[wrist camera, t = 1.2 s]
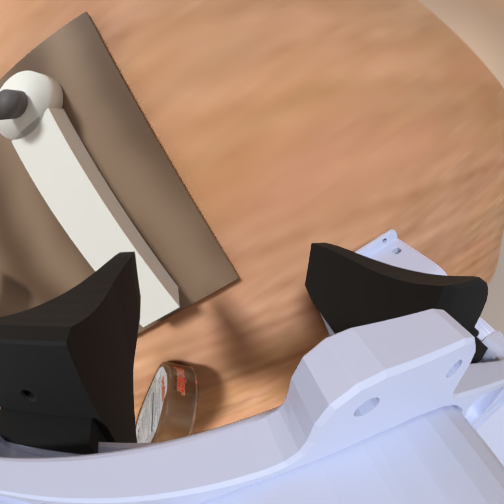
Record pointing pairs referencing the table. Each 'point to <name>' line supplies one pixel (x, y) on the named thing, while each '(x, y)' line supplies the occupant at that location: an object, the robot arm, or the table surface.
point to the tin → (169, 404)
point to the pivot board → (114, 173)
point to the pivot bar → (81, 190)
